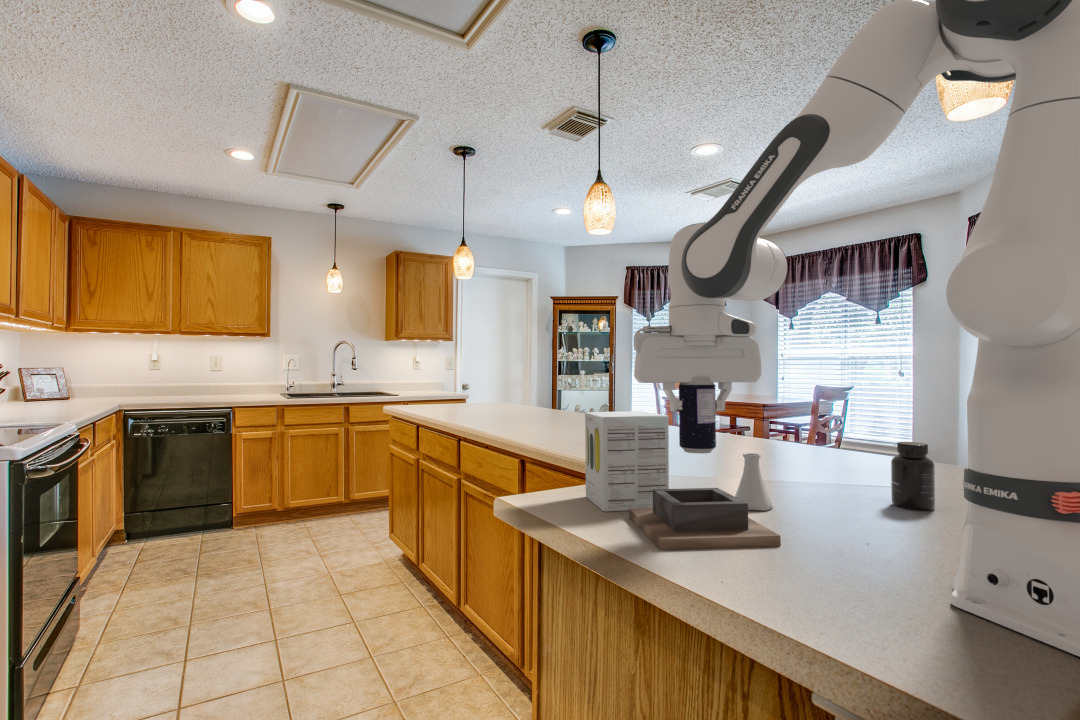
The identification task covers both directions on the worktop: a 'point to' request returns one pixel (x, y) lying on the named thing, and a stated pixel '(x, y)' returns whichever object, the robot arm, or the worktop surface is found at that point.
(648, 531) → the square holder on base
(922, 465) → the supplement bottle
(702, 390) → the beverage can
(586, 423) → the supplement box
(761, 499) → the flask
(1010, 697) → the worktop surface
